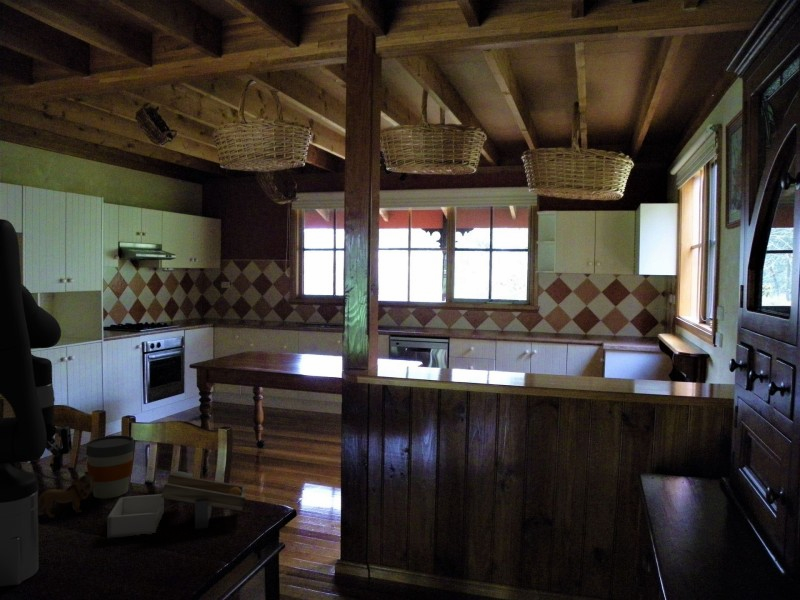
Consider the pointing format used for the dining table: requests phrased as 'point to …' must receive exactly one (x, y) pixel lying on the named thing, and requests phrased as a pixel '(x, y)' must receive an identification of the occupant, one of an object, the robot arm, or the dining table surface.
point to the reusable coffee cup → (110, 464)
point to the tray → (135, 516)
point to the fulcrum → (202, 513)
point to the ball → (235, 491)
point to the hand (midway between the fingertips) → (36, 472)
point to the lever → (202, 491)
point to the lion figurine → (67, 495)
